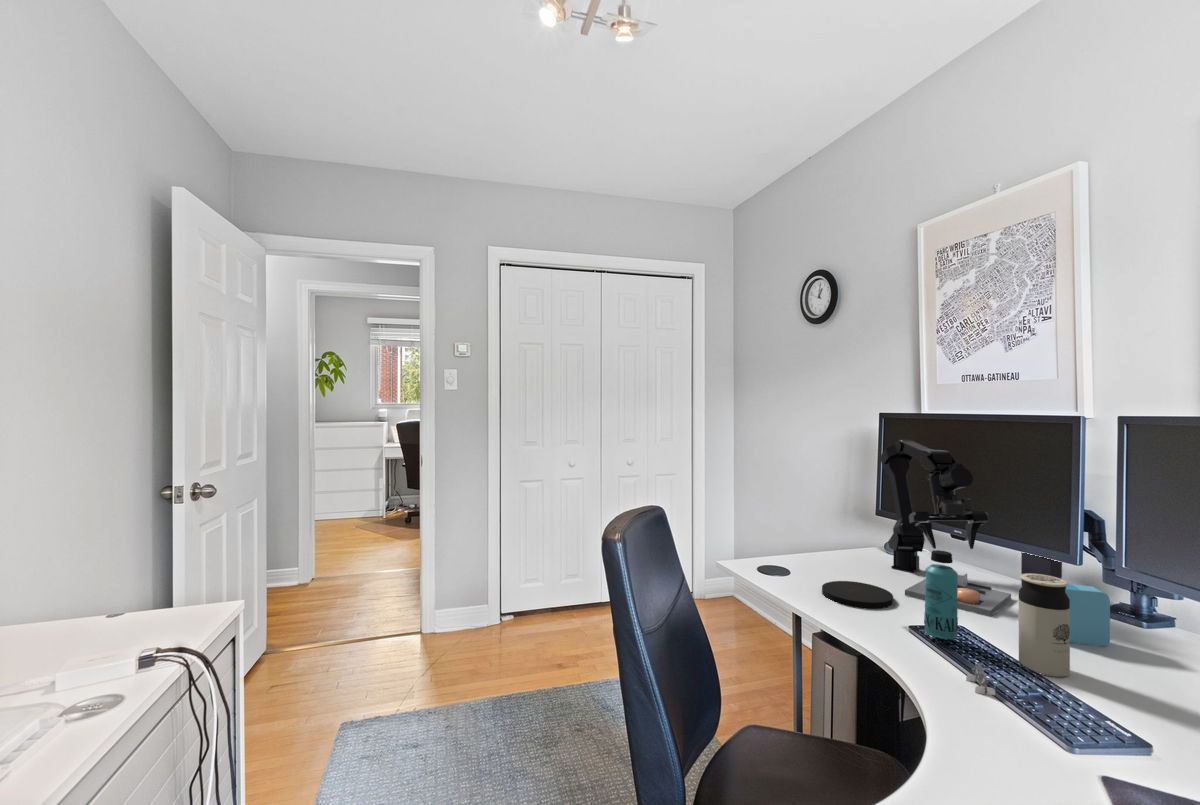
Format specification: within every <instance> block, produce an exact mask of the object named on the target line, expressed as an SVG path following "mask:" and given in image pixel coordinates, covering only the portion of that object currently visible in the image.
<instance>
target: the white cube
mask: <svg viewBox="0 0 1200 805" xmlns="http://www.w3.org/2000/svg"><path fill="white" fill-rule="evenodd" d="M955 571H956V572H957V574H958V579H957V585H960V586H967V582H968V573H967V572H964V571H961V570H960V571H959V570H955Z"/></svg>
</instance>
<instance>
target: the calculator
mask: <svg viewBox="0 0 1200 805" xmlns="http://www.w3.org/2000/svg"><path fill="white" fill-rule="evenodd" d="M1020 552H1021V551H1020ZM1020 554H1021V558H1020V559H1021V561H1020V562H1021V564H1020V565H1021V574H1020V575H1022V574H1042V575H1048V576H1052V577H1056V578H1060V579H1062V578H1063V561H1062V562H1058V561H1054V560H1051V559H1047V558H1044V557H1039V556H1035V555H1030V554H1027V553H1022V552H1021V553H1020ZM1020 579H1021V578H1020ZM1022 585H1023V583H1022V579H1021V586H1022Z"/></svg>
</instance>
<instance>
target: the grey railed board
mask: <svg viewBox="0 0 1200 805" xmlns="http://www.w3.org/2000/svg"><path fill="white" fill-rule="evenodd" d="M925 583H926V578H925V579H923V580H921V581H919V582H916V583H915V584H913V585H912V586H910V587H908V588H906V589H904V596H905V597H909V598H910V597H911V598H914V599H917V600H922V601H924V600H925V590H924V589H925V588H924V587H925ZM957 588H968V589H972V590H975V591H978V592H979V604H978V605H970V604H966V603H962V602H958V609H959V610H962V611H966V612H971V613H974V614H978V615H981V616H982V615H983V616H987V617H992V616H993V615H994V614H995V613H996V612H998V611H999V609H1001V608H1003V607H1004V606H1005V605H1006V604H1007V603H1009V601H1010V600H1012V593H1010V592H1007V591H1006V592H1005V591H1002V590H996V589H992V587H991V586H989V585H985V584H984V585H983V584H981V583H980V584H979V583H975V582H969V581H967V586H960V585H957ZM958 609H957V610H958Z"/></svg>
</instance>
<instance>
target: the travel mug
mask: <svg viewBox="0 0 1200 805" xmlns="http://www.w3.org/2000/svg"><path fill="white" fill-rule="evenodd" d="M1019 578H1020V579H1022V583H1023V585H1021V587H1020V588H1019V589H1018V662H1020V663H1021V664H1023V665H1024V666H1026V667H1028V668H1029V669H1031V670H1033V671H1035V672H1034V673H1036V672H1038V673H1037V674H1039V673H1041V674H1040V675H1042V674H1044V675H1043V676H1046V675H1048V676H1047V677H1053V676H1056V677H1055V678H1062V677H1068V676H1069V675H1070V674H1071V673H1070V672H1071V665H1070V664H1071V660H1070V659H1071V656H1070V655H1071V647H1070V646H1071V643H1070V599H1069V598H1068V596H1067V594H1066V593H1065V590H1066V586H1068V584H1069V583H1068V581H1067V580H1065V579H1063V578H1061V579H1060V578H1056V577H1052V576H1048V575H1042V574H1022V575H1021V574H1020V576H1019ZM1020 663H1019V664H1020ZM1021 664H1020V665H1021ZM1024 666H1023V667H1024ZM1029 669H1028V670H1029ZM1031 670H1030V671H1031ZM1033 671H1032V672H1033Z"/></svg>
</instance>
